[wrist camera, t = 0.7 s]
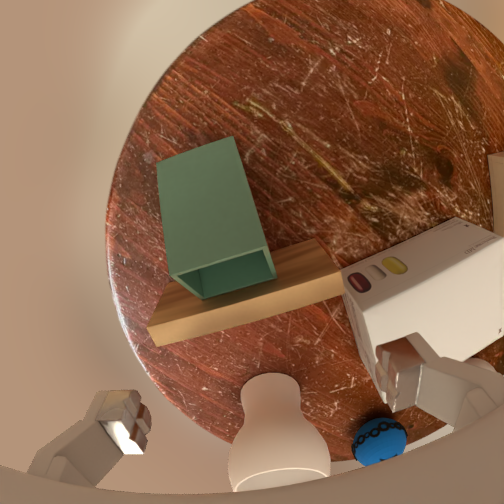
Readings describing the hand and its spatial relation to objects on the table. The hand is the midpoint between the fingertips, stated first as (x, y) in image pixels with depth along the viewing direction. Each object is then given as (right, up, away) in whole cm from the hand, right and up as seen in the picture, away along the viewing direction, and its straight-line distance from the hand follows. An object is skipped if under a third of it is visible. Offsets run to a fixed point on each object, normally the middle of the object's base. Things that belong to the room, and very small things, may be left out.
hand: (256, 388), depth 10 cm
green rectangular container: (-3, +9, +21) cm, 23 cm away
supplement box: (+19, 0, +25) cm, 31 cm away
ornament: (+19, -23, +32) cm, 44 cm away
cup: (+2, -14, +29) cm, 32 cm away
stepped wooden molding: (-1, +1, +24) cm, 24 cm away
